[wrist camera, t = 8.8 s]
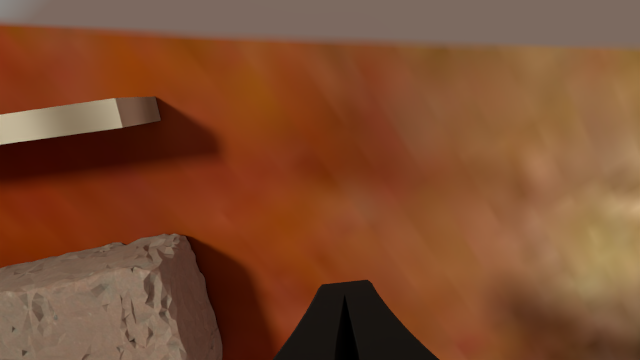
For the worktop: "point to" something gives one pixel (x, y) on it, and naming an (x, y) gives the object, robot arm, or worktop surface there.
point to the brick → (109, 305)
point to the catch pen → (77, 118)
